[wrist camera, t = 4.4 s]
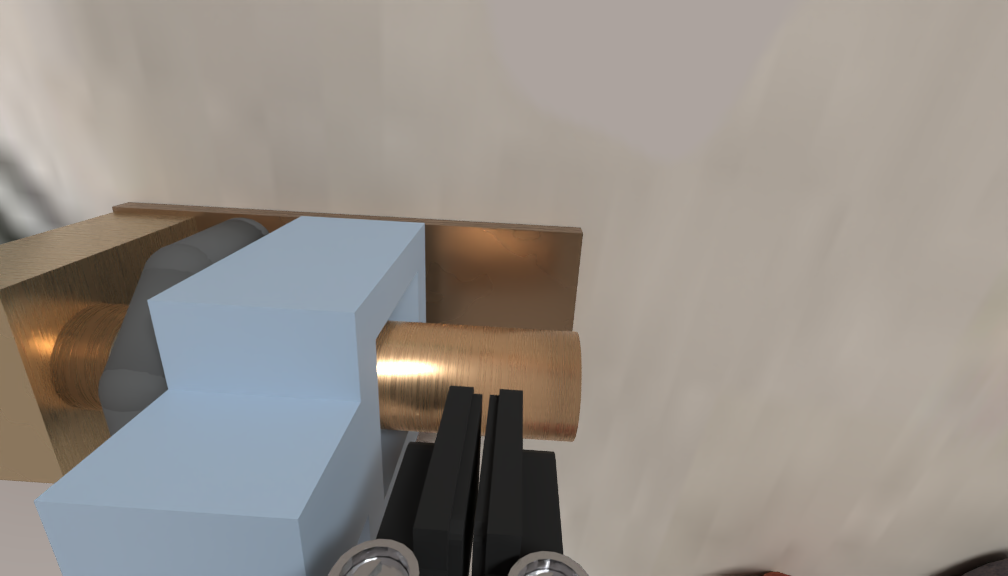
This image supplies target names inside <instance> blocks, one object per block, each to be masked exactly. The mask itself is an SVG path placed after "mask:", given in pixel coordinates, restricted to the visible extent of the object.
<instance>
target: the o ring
mask: <svg viewBox="0 0 1008 576" xmlns="http://www.w3.org/2000/svg"><path fill="white" fill-rule="evenodd" d="M268 234H269V232H268V230H267V229H266V228H265V227H264V226H263V225H261V224H260V223H258V222H256V221H255V220H252V219H248V218H232V219H229V220H226V221H224V222H222V223H220V224H217V225H215V226H212V227H210V228H208V229H205V230H203V231H201V232H198V233H196V234H194V235H191V236H189V237H187V238H184V239H182V240H179V241H177V242H175V243H172V244H170V245H167V246H165V247H162V248H160V249H159V250H158V251H156V252H155V253H153V254H152V255H151V256H150V258H149V259H148V260H147V262H146V263H145V266H144V269H143V271H142V274H141V277H140V279H139V282H138V284H137V287H136V289H135V292H134V294H133V297H132V300H131V302H130V305H129V307H128V310H127V312H126V315H125V317H124V320H123V323H122V325H121V328H120V330H119V333H118V335H117V338H116V340H115V343H114V346H113V348H112V351H111V353H110V356H109V358H108V361H107V363H106V366H105V369H104V371H103V373H102V376H101V378H100V380H99V386H98V395H99V399H100V403H101V406H102V409H103V412H104V416H105V419H106V422H107V426H108V429H109V432H110V436H113V435H114V434H115V433H116V432H118V431H119V430H120V429H121V428H122V427H124V426H125V425H126V424H127V423H128V422H130V421H131V420H132V419H133V418H134V417H136V416H137V415H138V414H139V413H140V412H142V411H143V410H144V409H145V408H147V407H148V406H149V405H150V404H151V403H153V402H154V401H155V400H156V399H157V398H159V397H160V396H161V395H162V394H163V393H165V392H166V391H167V390H168V386H167V382H166V378H165V374H164V369H163V365H162V361H161V357H160V352H159V348H158V344H157V340H156V336H155V331H154V327H153V323H152V319H151V314H150V310H149V306H148V302H147V300H148V299H150V298H152V297H154V296H156V295H158V294H159V293H161V292H163V291H165V290H167V289H169V288H170V287H172V286H174V285H176V284H178V283H180V282H181V281H183V280H185V279H187V278H189V277H191V276H192V275H194V274H196V273H198V272H200V271H202V270H203V269H205V268H207V267H209V266H211V265H213V264H214V263H216V262H218V261H220V260H222V259H224V258H225V257H227V256H229V255H231V254H233V253H235V252H236V251H238V250H240V249H242V248H244V247H246V246H247V245H249V244H251V243H253V242H255V241H257V240H258V239H260V238H262V237H264V236H266V235H268Z"/></svg>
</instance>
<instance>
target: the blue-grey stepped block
mask: <svg viewBox="0 0 1008 576" xmlns="http://www.w3.org/2000/svg"><path fill="white" fill-rule="evenodd" d="M147 302H148V306H149V310H150V314H151V319H152V323H153V327H154V331H155V336H156V340H157V344H158V348H159V352H160V357H161V361H162V365H163V369H164V374H165V378H166V382H167V386H168V390H167V391H166V392H165V393H163V394H162V395H161V396H160V397H159V398H157V399H156V400H155V401H154V402H153V403H151V404H150V405H149V406H148V407H147V408H145V409H144V410H143V411H142V412H140V413H139V414H138V415H137V416H136V417H134V418H133V419H132V420H131V421H130V422H128V423H127V424H126V425H125V426H124V427H122V428H121V429H120V430H119V431H118V432H116V433H115V434H114V435H113V436H111V437H110V438H109V439H108V440H107V441H105V442H104V443H103V444H102V445H101V446H99V447H98V448H97V449H96V450H95V451H93V452H92V453H91V454H90V455H89V456H87V457H86V458H85V459H84V460H82V461H81V462H80V463H79V464H78V465H76V466H75V467H74V468H73V469H72V470H70V471H69V472H68V473H67V474H66V475H64V476H63V477H62V478H61V479H60V480H58V481H57V482H56V483H55V484H54V485H52V486H51V487H50V488H49V489H47V490H46V491H45V492H44V493H43V494H42V495H40V496H39V497H38V498H37V499H35V500H34V503H35V506H36V508H37V511H38V513H39V516H40V518H41V521H42V524H43V526H44V529H45V531H46V534H47V536H48V539H49V542H50V544H51V547H52V549H53V552H54V554H55V557H56V559H57V562H58V565H59V567H60V570H61V572H62V575H63V576H328V574H329V572H330V571H331V569H332V567H333V566H334V565H335V563H336V562H337V561H338V559H339V558H340V557H341V556H342V555H343V554H344V553H346V552H347V551H348V550H350V549H351V548H352V547H354V546H356V545H359V544H361V543H363V542H365V541H370V540H375V539H376V537H377V534H378V531H379V528H380V525H381V522H382V519H383V516H384V513H385V510H386V507H387V504H388V501H389V498H390V495H391V492H392V489H393V486H394V483H395V480H396V477H397V474H398V471H399V468H400V465H401V462H402V459H403V456H404V453H405V450H406V448H407V445H408V443H409V442H416V439H417V436H418V433H419V432H416V431H401V430H385V429H380V413H379V394H378V376H377V357H376V338H377V337H378V335H379V333H380V332H381V330H382V328H383V327H384V325H385V324H386V322H387V320H389V321H406V322H422V323H426V283H425V223H417V222H400V221H382V220H364V219H346V218H329V217H311V216H301V217H299V218H297V219H295V220H293V221H291V222H290V223H288V224H286V225H284V226H282V227H280V228H279V229H277V230H275V231H273V232H271V233H269V234H268V235H266V236H264V237H262V238H260V239H258V240H257V241H255V242H253V243H251V244H249V245H247V246H246V247H244V248H242V249H240V250H238V251H236V252H235V253H233V254H231V255H229V256H227V257H225V258H224V259H222V260H220V261H218V262H216V263H214V264H213V265H211V266H209V267H207V268H205V269H203V270H202V271H200V272H198V273H196V274H194V275H192V276H191V277H189V278H187V279H185V280H183V281H181V282H180V283H178V284H176V285H174V286H172V287H170V288H169V289H167V290H165V291H163V292H161V293H159V294H158V295H156V296H154V297H152V298H150V299H148V300H147Z"/></svg>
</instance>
